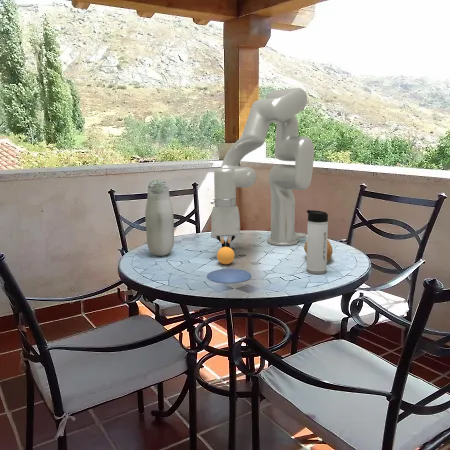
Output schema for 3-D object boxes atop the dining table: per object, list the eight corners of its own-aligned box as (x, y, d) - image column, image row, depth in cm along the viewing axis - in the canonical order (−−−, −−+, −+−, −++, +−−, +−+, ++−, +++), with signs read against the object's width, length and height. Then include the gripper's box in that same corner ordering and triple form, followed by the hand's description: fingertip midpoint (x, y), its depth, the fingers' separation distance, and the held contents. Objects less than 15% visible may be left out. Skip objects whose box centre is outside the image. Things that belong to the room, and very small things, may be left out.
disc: (249, 268, 145) (249, 268, 145) (253, 282, 132) (253, 281, 132) (206, 269, 145) (206, 269, 145) (206, 283, 131) (206, 283, 131)
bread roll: (307, 266, 148) (307, 243, 146) (301, 254, 162) (301, 233, 161) (336, 266, 147) (336, 242, 146) (327, 254, 162) (328, 233, 160)
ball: (234, 251, 147) (234, 267, 149) (234, 243, 152) (234, 259, 154) (216, 251, 147) (216, 267, 149) (217, 243, 152) (217, 259, 155)
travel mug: (304, 268, 144) (305, 208, 140) (324, 268, 144) (326, 208, 140) (306, 274, 138) (308, 212, 134) (328, 274, 138) (330, 211, 134)
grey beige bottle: (144, 253, 167) (140, 179, 161) (171, 250, 170) (168, 178, 165) (150, 259, 158) (146, 181, 152) (178, 256, 161) (175, 180, 156)
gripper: (203, 205, 151) (205, 256, 155) (247, 204, 152) (247, 255, 155) (204, 202, 158) (205, 251, 162) (245, 201, 159) (245, 250, 163)
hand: (225, 253), depth 159 cm, fingers closed
